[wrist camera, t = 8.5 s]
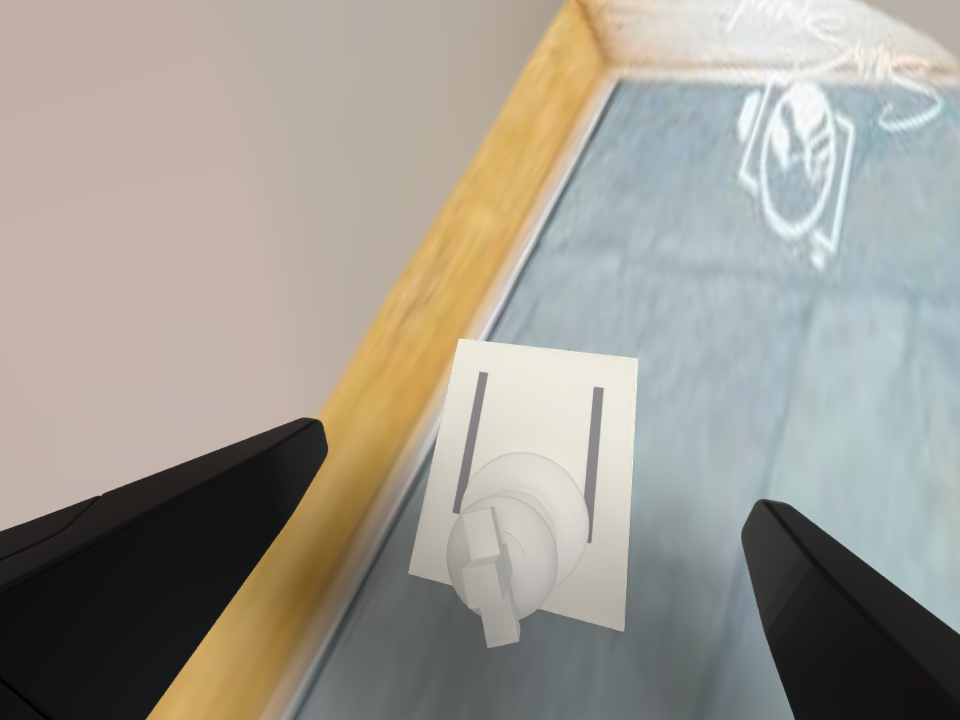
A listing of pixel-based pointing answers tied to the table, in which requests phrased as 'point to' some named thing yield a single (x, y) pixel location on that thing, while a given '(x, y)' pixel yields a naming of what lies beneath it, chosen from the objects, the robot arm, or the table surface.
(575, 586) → the slotted cream plate
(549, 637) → the table surface
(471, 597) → the chess piece
